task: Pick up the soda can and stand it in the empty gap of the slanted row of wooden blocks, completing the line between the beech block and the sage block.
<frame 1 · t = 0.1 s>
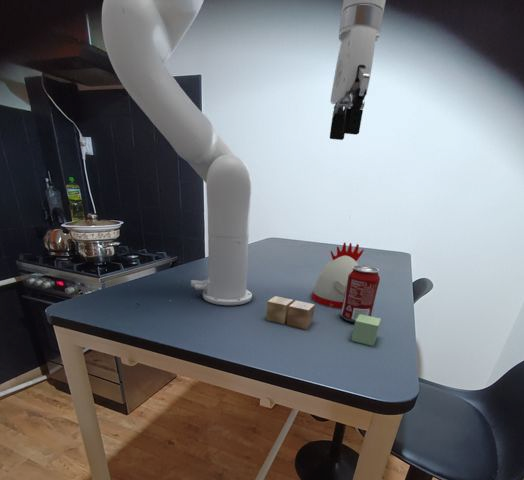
hand: (343, 136, 67), 37 cm above the table, tool pointing down, fingers open, 9 cm apart
kitchen timer: (337, 300, 87), on the table
beech block: (299, 323, 70), on the table
sage block: (363, 339, 65), on the table
soda can: (354, 320, 75), on the table
maple block: (278, 318, 72), on the table
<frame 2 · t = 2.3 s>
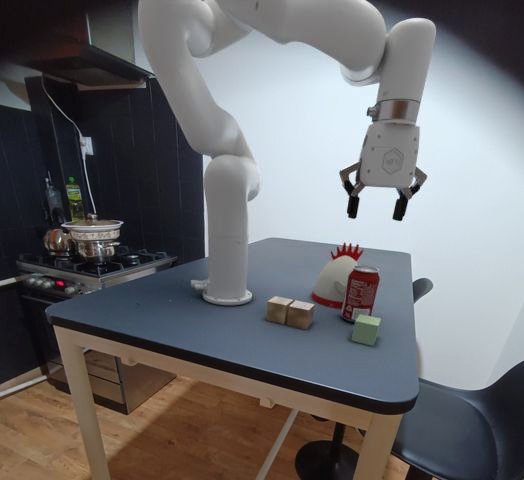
hand: (374, 219, 65), 22 cm above the table, tool pointing down, fingers open, 9 cm apart
nothing on the table moved.
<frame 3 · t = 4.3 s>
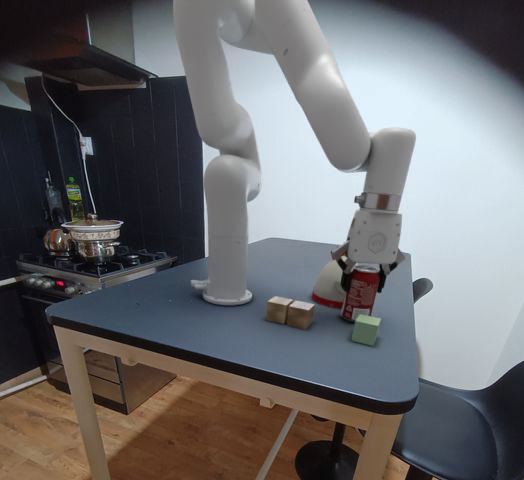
hand: (361, 289, 71), 7 cm above the table, tool pointing down, fingers closed on soda can, 6 cm apart
soda can: (354, 320, 75), on the table, touching gripper
everything else where it was.
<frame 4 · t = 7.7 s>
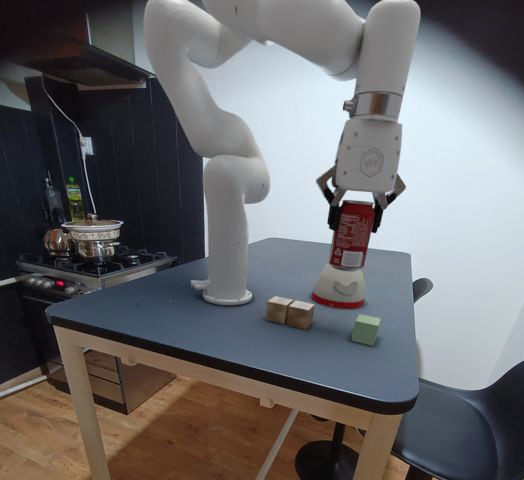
hand: (352, 230, 59), 20 cm above the table, tool pointing down, fingers closed on soda can, 6 cm apart
soda can: (344, 269, 62), point 13 cm above the table, touching gripper
everything else where it was.
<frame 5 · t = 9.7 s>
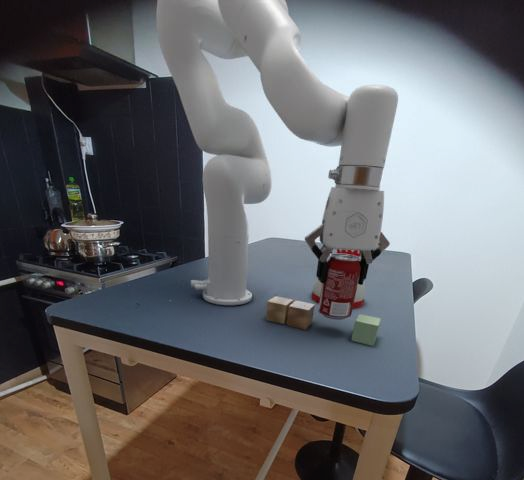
hand: (340, 281, 62), 11 cm above the table, tool pointing down, fingers closed on soda can, 6 cm apart
soda can: (333, 316, 66), point 4 cm above the table, touching gripper
everything else where it was.
when the fingers open (7 cm above the table, at t = 11.3 s): soda can stays where it is, on the table.
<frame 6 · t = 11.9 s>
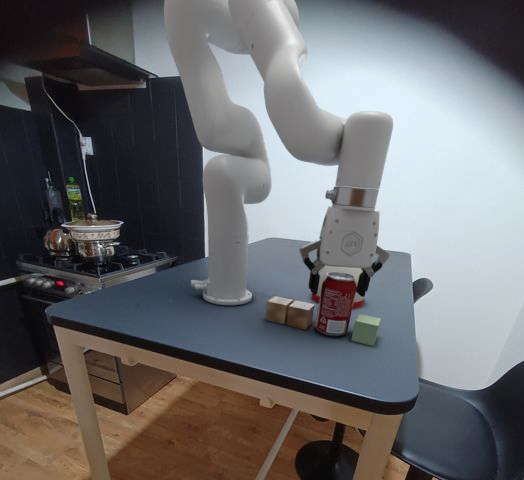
hand: (336, 293, 64), 8 cm above the table, tool pointing down, fingers open, 9 cm apart
soda can: (330, 332, 67), on the table
everything else where it was.
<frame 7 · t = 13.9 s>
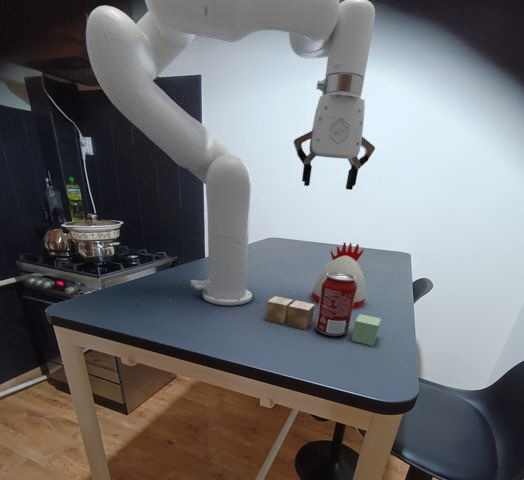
hand: (327, 187, 71), 27 cm above the table, tool pointing down, fingers open, 9 cm apart
nothing on the table moved.
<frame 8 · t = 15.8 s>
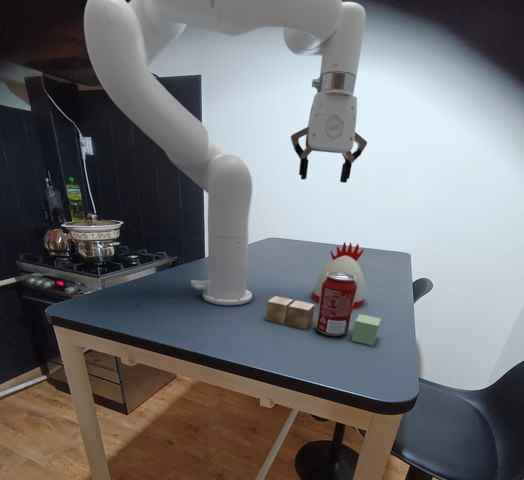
hand: (323, 180, 75), 28 cm above the table, tool pointing down, fingers open, 9 cm apart
nothing on the table moved.
at the end: soda can 0.1 cm from the target spot, on the table; soda can tilted 0°; sage block moved 0.0 cm from its start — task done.
